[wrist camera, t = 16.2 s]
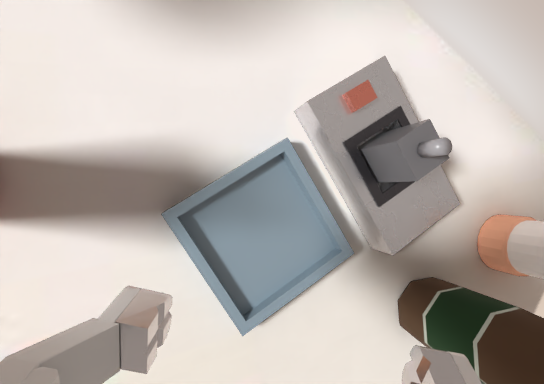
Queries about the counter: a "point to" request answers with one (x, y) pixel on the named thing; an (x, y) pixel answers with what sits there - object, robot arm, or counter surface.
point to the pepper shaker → (513, 245)
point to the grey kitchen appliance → (354, 171)
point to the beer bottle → (476, 330)
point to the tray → (259, 235)
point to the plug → (405, 152)
